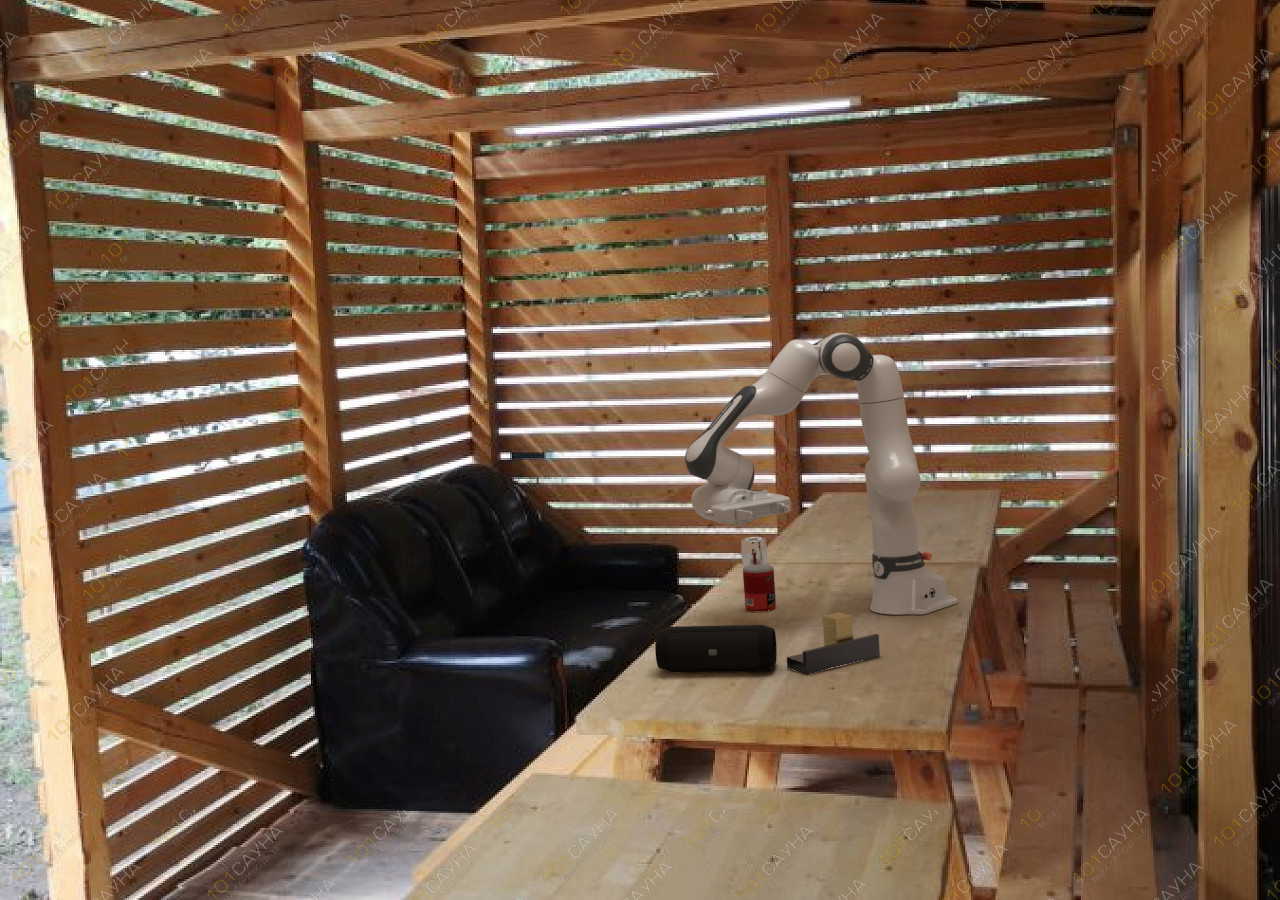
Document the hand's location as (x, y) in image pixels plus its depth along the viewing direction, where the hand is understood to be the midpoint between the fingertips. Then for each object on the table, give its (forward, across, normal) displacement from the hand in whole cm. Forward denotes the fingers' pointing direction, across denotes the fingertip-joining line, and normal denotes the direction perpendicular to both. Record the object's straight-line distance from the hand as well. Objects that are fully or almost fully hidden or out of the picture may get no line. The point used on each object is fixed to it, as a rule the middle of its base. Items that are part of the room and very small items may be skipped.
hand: (770, 512), depth 315 cm
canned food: (-27, +14, +30) cm, 43 cm away
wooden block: (+26, -2, +30) cm, 39 cm away
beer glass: (-43, +24, +30) cm, 58 cm away
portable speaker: (+13, -26, +30) cm, 42 cm away
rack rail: (+26, -4, +30) cm, 40 cm away
